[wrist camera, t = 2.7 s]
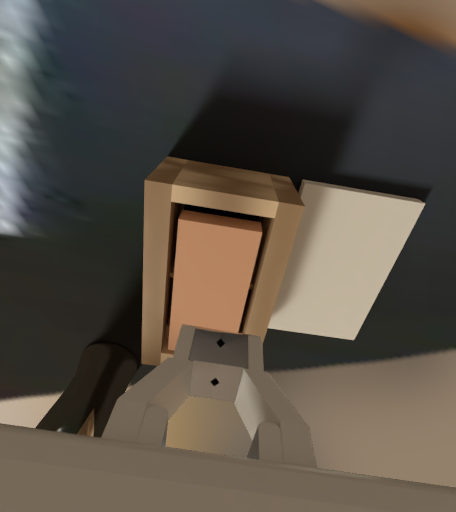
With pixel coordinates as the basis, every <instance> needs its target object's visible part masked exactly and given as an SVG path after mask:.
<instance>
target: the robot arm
mask: <svg viewBox="0 0 456 512" xmlns="http://www.w3.org/2000/svg"><path fill="white" fill-rule="evenodd" d="M188 396H194V397H203V398H212V399H217V400H223V401H228V402H234V403H235V406H236V408H237V410H238V412H239V414H240V416H241V418H242V420H243V422H244V424H245V426H246V428H247V430H248V432H249V435H250V436H251V439H252V444H251V446H250V449H249V452H248V455H247V457H246V458H241V457H234V456H227V455H220V454H213V453H206V452H198V451H192V450H185V449H178V448H170V447H165V446H166V435H167V426H168V420H169V419H170V417H171V416H172V415H173V414H174V413H175V412H176V411H177V409H178V408H179V407H180V406H181V405H182V403H183V402H184V401H185V400H186V399H187V398H188ZM0 512H456V488H455V487H448V486H441V485H434V484H426V483H420V482H413V481H406V480H398V479H391V478H384V477H377V476H370V475H363V474H356V473H349V472H342V471H335V470H327V469H320V468H317V465H316V460H315V455H314V449H313V444H312V439H311V433H310V428H309V426H308V425H307V423H306V422H305V421H304V420H303V418H302V417H301V415H300V414H299V413H298V412H297V410H296V409H295V407H294V406H293V405H292V403H291V402H290V401H289V400H288V398H287V397H286V396H285V394H284V393H283V392H282V390H281V389H280V388H279V386H278V385H277V384H276V382H275V381H274V380H273V378H272V377H271V376H270V374H269V373H268V372H264V365H263V351H262V338H261V336H258V335H250V334H243V333H236V332H229V331H222V330H216V329H210V328H205V327H199V326H192V325H186V324H182V326H181V329H180V333H179V336H178V340H177V344H176V347H175V351H174V355H173V358H171V357H168V358H167V359H166V360H165V361H163V362H162V363H161V364H160V365H159V366H157V367H156V368H155V369H154V370H152V371H151V372H150V373H149V374H147V375H146V376H145V377H144V378H142V379H141V380H140V381H139V382H138V383H136V384H135V385H134V386H133V387H131V388H130V389H129V390H128V391H126V392H125V393H124V394H123V395H122V396H120V397H119V398H118V399H117V401H116V404H115V406H114V408H113V411H112V413H111V415H110V418H109V420H108V423H107V425H106V427H105V430H104V432H103V435H102V437H101V438H100V437H92V436H85V435H78V434H71V433H64V432H57V431H50V430H43V429H36V428H28V427H21V426H14V425H7V424H0Z"/></svg>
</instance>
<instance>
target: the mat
mask: <svg viewBox="0 0 456 512" xmlns="http://www.w3.org/2000/svg"><path fill="white" fill-rule="evenodd" d="M298 194H299V196H300V198H301V200H302V202H303V204H304V205H305V208H304V211H303V215H302V218H301V221H300V224H299V227H298V231H297V234H296V237H295V240H294V244H293V247H292V250H291V253H290V257H289V260H288V263H287V266H286V270H285V273H284V276H283V279H282V283H281V286H280V289H279V292H278V295H277V299H276V302H275V305H274V308H273V312H272V315H271V318H270V321H269V325H268V328H271V329H278V330H286V331H293V332H300V333H307V334H314V335H321V336H328V337H335V338H342V339H349V340H354V339H355V337H356V335H357V333H358V331H359V330H360V328H361V326H362V324H363V322H364V320H365V318H366V316H367V314H368V312H369V310H370V309H371V307H372V305H373V303H374V301H375V299H376V297H377V295H378V293H379V291H380V289H381V288H382V286H383V284H384V282H385V280H386V278H387V276H388V274H389V272H390V270H391V268H392V267H393V265H394V263H395V261H396V259H397V257H398V255H399V253H400V251H401V249H402V248H403V246H404V244H405V242H406V240H407V238H408V236H409V234H410V232H411V230H412V228H413V227H414V225H415V223H416V221H417V219H418V217H419V215H420V213H421V211H422V209H423V207H424V206H425V203H424V202H422V201H420V200H419V199H415V198H409V197H403V196H397V195H391V194H385V193H380V192H374V191H368V190H362V189H356V188H350V187H344V186H338V185H332V184H327V183H321V182H315V181H309V180H303V179H302V182H301V186H300V189H299V193H298Z"/></svg>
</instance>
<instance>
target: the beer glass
mask: <svg viewBox="0 0 456 512" xmlns="http://www.w3.org/2000/svg"><path fill="white" fill-rule="evenodd" d="M137 367H138V364H137V360H136V358H135V357H134V355H133V354H132V353H131V352H130V351H128V350H127V349H125V348H124V347H122V346H119V345H117V344H113V343H106V342H102V343H95V344H92V345H90V346H88V347H87V348H86V349H85V350H84V351H83V353H82V355H81V358H80V361H79V364H78V367H77V370H76V373H75V375H74V377H73V379H72V381H71V382H70V384H69V386H68V387H67V389H66V390H65V391H64V392H63V394H62V395H61V396H60V398H59V399H58V400H57V401H56V403H55V404H54V405H53V406H52V407H51V409H50V410H49V411H48V413H47V414H46V415H45V416H44V417H43V419H42V420H41V421H40V422H39V424H38V425H37V426H36V429H43V430H50V431H57V432H64V433H71V434H78V435H85V436H92V437H100V438H101V437H102V435H103V432H104V430H105V427H106V425H107V423H108V420H109V418H110V415H111V413H112V411H113V408H114V406H115V404H116V401H117V399H118V398H119V397H120V396H122V395H123V394H124V393H125V391H126V389H127V387H128V385H129V384H130V382H131V380H132V379H133V377H134V375H135V374H136V371H137Z"/></svg>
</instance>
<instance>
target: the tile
mask: <svg viewBox="0 0 456 512" xmlns="http://www.w3.org/2000/svg"><path fill="white" fill-rule="evenodd" d="M261 236H262V227H261V222H256V221H250V220H244V219H238V218H231V217H225V216H219V215H213V214H207V213H200V212H194V211H188V210H182V212H181V215H180V217H179V219H178V231H177V244H176V256H175V268H174V280H173V292H172V305H171V317H170V329H169V341H168V350H175V347H176V344H177V340H178V336H179V333H180V329H181V326H182V324H186V325H192V326H199V327H205V328H210V329H216V330H222V331H229V332H236V333H238V331H239V327H240V323H241V319H242V315H243V310H244V306H245V302H246V298H247V294H248V290H249V286H250V282H251V278H252V273H253V269H254V265H255V261H256V257H257V253H258V249H259V245H260V241H261Z"/></svg>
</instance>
